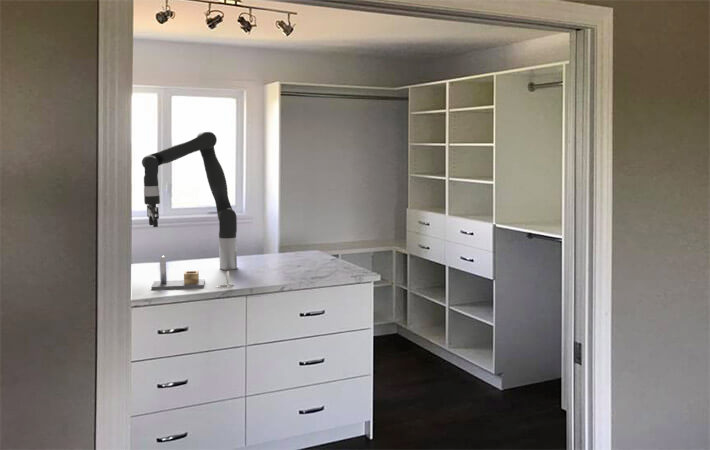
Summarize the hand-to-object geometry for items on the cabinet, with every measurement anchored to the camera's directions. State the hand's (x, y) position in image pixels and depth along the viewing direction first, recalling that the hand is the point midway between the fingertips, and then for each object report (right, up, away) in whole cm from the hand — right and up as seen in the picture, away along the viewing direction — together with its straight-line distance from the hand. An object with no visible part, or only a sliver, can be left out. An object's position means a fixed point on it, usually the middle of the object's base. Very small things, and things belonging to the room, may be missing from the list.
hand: (153, 226), depth 327 cm
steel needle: (+12, -28, -22) cm, 38 cm away
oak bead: (+25, -27, -20) cm, 42 cm away
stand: (+41, -29, -22) cm, 55 cm away
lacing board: (+19, -29, -21) cm, 40 cm away
